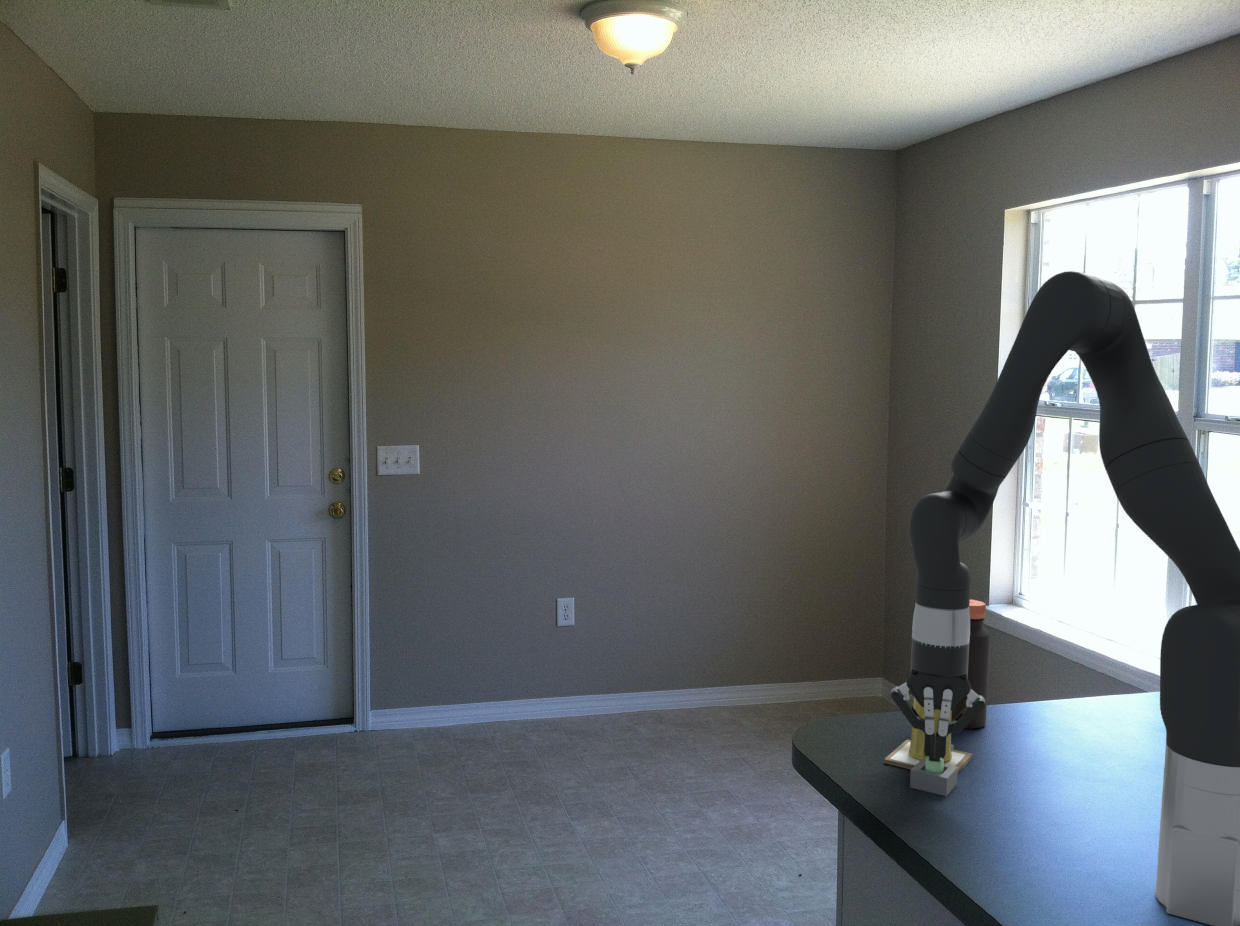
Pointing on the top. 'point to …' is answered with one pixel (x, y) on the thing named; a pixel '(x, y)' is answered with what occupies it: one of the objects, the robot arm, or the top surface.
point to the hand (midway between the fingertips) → (934, 759)
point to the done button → (934, 766)
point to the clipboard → (905, 760)
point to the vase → (919, 736)
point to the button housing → (933, 779)
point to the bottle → (977, 662)
